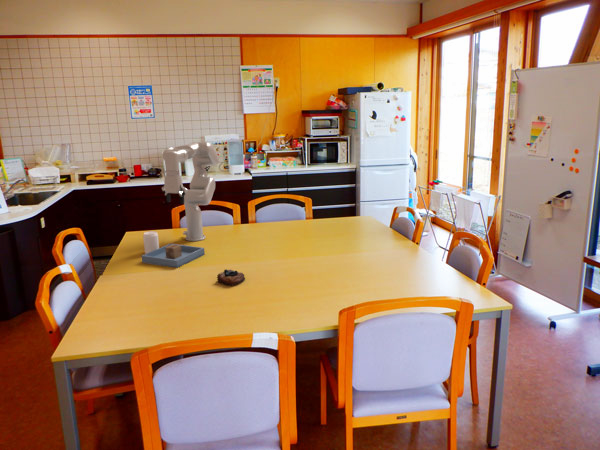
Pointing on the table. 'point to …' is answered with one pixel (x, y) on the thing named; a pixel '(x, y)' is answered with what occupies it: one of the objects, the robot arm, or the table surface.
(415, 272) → the table surface
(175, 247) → the walnut block
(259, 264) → the table surface
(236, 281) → the pastry
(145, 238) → the beverage can
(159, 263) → the slate tray
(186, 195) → the robot arm
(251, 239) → the table surface
